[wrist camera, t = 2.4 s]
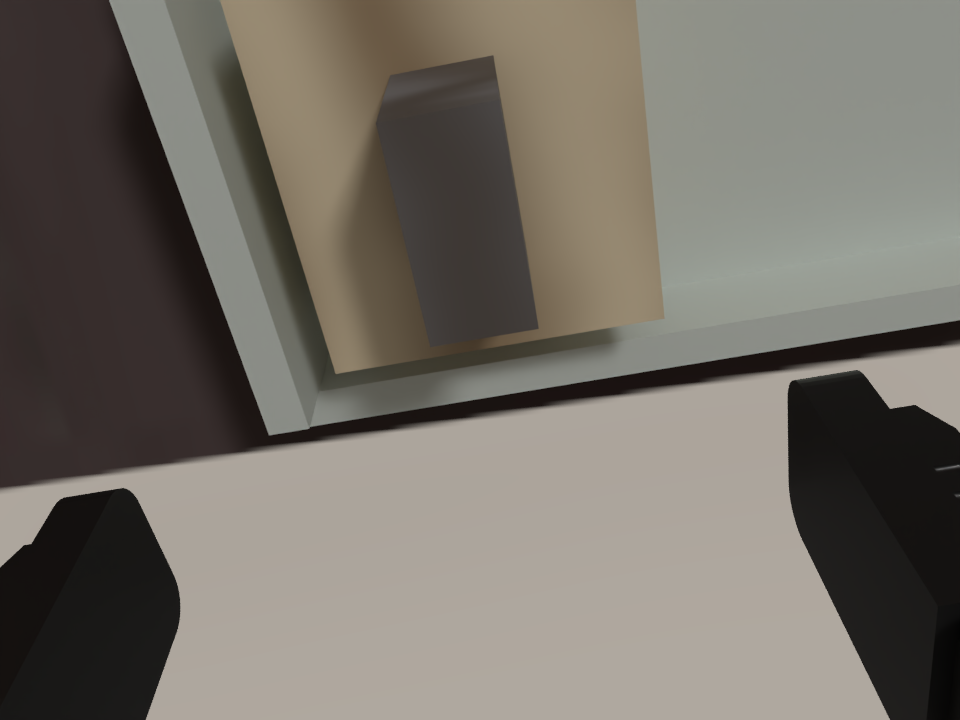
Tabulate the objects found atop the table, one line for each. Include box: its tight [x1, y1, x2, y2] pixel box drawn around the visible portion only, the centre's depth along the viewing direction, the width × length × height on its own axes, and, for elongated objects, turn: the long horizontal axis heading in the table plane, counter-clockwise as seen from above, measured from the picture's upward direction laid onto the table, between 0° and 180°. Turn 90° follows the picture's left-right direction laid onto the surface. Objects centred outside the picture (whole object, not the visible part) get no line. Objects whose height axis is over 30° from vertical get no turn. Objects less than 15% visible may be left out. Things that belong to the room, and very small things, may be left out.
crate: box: [220, 0, 665, 374], centre depth 22 cm, size 9×10×9 cm
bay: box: [109, 0, 960, 435], centre depth 24 cm, size 26×16×6 cm, turn 100°
